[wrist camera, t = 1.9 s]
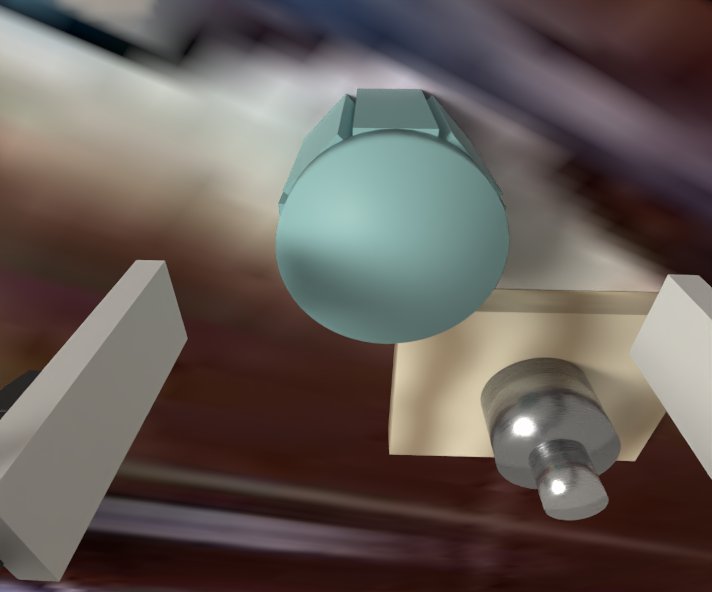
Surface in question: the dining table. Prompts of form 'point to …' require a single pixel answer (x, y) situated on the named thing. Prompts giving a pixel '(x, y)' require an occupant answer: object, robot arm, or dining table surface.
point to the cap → (390, 220)
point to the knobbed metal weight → (551, 434)
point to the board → (513, 344)
